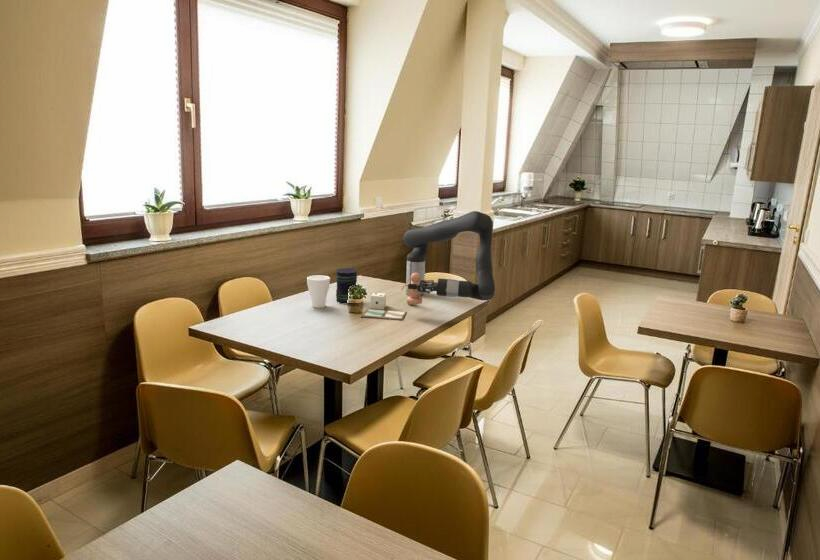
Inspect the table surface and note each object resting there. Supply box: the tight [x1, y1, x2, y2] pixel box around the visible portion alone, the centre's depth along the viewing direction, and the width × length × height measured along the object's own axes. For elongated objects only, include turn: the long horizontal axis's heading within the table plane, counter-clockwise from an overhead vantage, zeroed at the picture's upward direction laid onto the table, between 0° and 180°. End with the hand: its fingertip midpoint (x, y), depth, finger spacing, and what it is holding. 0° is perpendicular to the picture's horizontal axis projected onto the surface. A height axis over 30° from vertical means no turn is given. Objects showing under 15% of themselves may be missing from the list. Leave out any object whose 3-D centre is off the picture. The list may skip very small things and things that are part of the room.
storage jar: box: [335, 268, 358, 304], centre depth 282 cm, size 10×10×15 cm
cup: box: [306, 274, 331, 309], centre depth 272 cm, size 10×10×14 cm
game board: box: [360, 308, 407, 321], centre depth 262 cm, size 12×18×1 cm, turn 81°
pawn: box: [406, 273, 423, 305], centre depth 257 cm, size 6×6×13 cm
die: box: [369, 292, 387, 310], centre depth 274 cm, size 6×6×6 cm
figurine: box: [401, 282, 414, 306], centre depth 278 cm, size 8×6×12 cm
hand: (409, 285), depth 257 cm, fingers closed on pawn, 4 cm apart
